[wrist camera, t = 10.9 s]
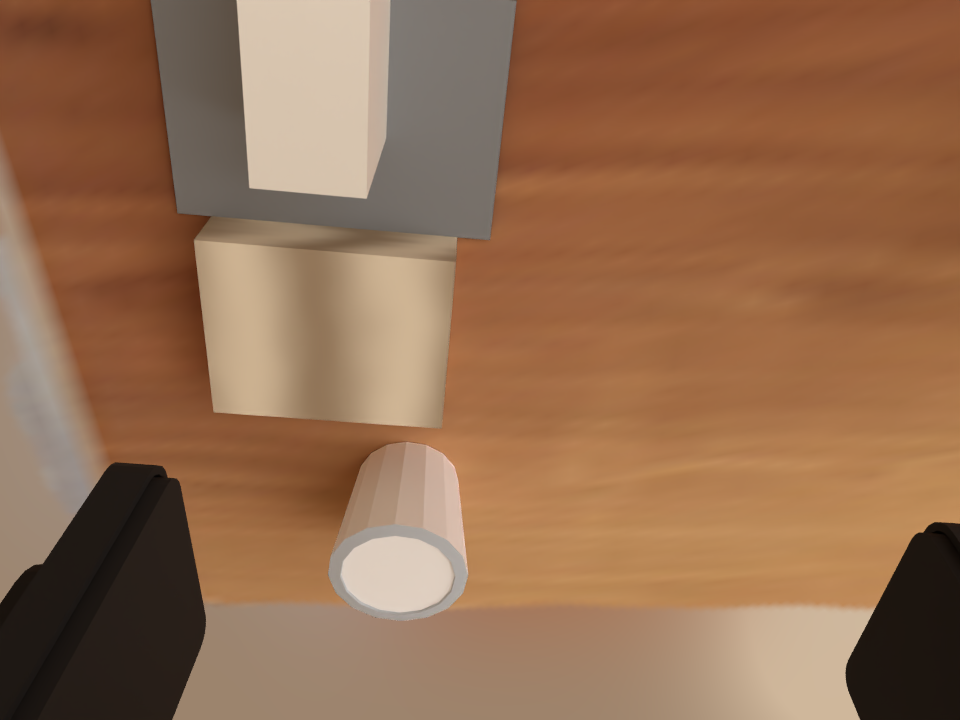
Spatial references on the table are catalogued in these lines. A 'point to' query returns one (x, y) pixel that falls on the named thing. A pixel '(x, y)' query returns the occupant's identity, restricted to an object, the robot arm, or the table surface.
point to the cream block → (314, 93)
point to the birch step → (326, 321)
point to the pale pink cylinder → (401, 536)
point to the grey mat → (409, 134)
